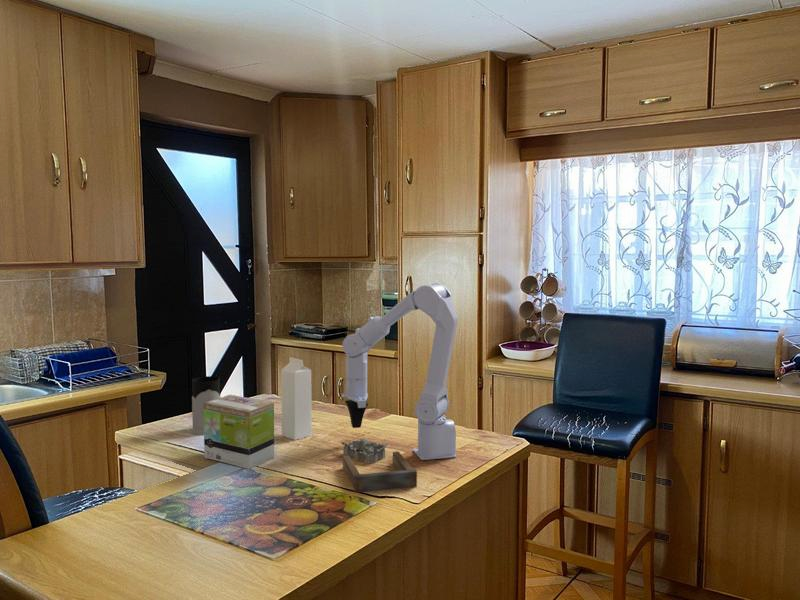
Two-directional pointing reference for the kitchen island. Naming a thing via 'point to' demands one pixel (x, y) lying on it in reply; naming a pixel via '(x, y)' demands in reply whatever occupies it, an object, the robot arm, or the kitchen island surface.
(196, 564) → the kitchen island surface
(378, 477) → the dock
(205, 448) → the tea box
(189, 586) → the kitchen island surface
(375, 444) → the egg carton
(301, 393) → the milk
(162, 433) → the kitchen island surface
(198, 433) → the glass holder
